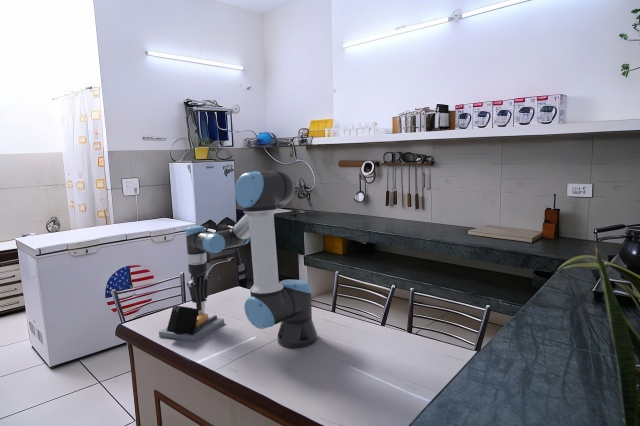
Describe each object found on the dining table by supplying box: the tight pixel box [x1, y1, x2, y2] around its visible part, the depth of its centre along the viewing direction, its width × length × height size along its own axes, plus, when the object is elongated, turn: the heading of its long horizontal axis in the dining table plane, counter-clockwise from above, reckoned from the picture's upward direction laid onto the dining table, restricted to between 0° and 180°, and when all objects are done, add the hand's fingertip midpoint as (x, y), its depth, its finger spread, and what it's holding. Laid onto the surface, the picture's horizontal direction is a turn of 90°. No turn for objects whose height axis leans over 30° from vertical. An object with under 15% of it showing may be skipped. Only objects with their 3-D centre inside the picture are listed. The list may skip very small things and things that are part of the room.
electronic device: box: [166, 304, 199, 335], centre depth 163 cm, size 4×10×10 cm, turn 148°
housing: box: [158, 314, 225, 343], centre depth 170 cm, size 18×19×3 cm
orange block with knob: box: [195, 313, 209, 327], centre depth 171 cm, size 8×6×4 cm
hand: (201, 316), depth 175 cm, fingers closed
